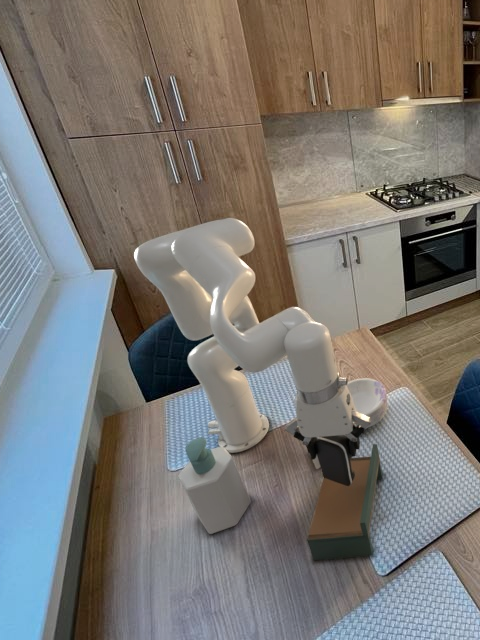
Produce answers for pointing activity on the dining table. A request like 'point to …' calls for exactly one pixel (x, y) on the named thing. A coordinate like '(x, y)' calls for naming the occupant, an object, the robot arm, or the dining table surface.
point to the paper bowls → (369, 398)
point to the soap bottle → (214, 486)
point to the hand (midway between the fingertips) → (335, 451)
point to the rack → (346, 513)
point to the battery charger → (335, 458)
